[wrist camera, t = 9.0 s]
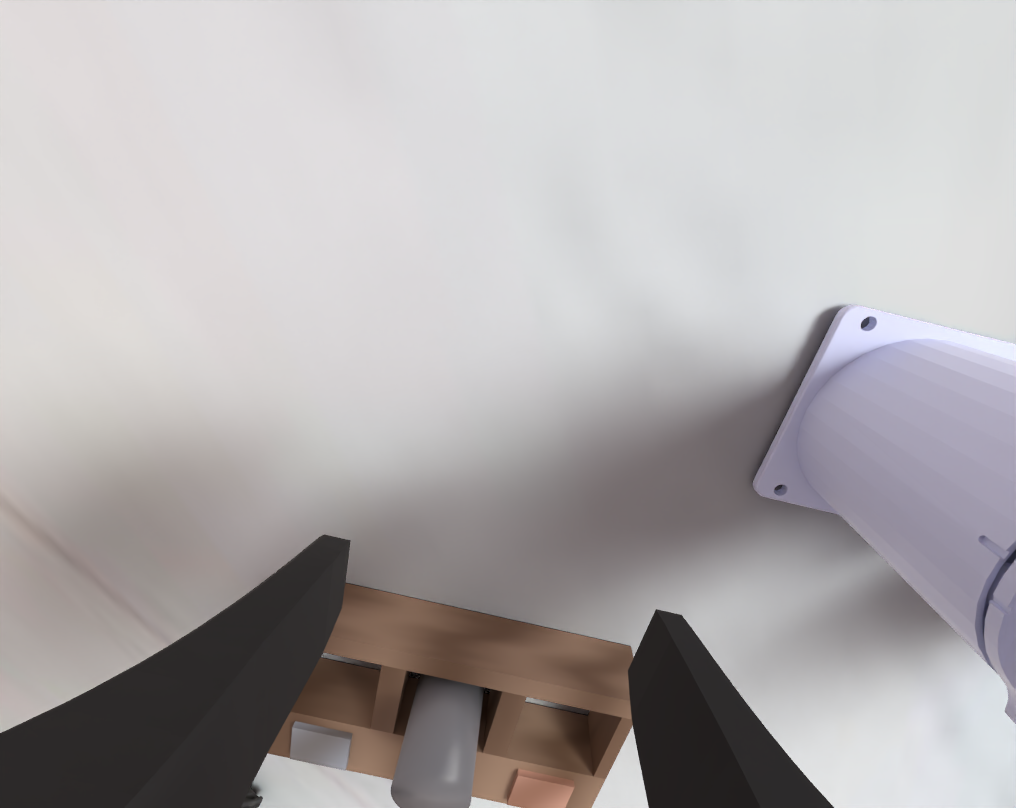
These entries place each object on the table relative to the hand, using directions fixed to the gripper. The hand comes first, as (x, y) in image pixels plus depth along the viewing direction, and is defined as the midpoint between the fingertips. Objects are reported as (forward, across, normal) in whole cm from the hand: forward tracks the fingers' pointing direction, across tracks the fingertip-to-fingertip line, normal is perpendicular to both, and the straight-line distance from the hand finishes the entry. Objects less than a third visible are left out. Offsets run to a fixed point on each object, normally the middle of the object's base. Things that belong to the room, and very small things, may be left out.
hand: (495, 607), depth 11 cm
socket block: (+9, 0, +14) cm, 17 cm away
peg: (+9, 0, +13) cm, 16 cm away
